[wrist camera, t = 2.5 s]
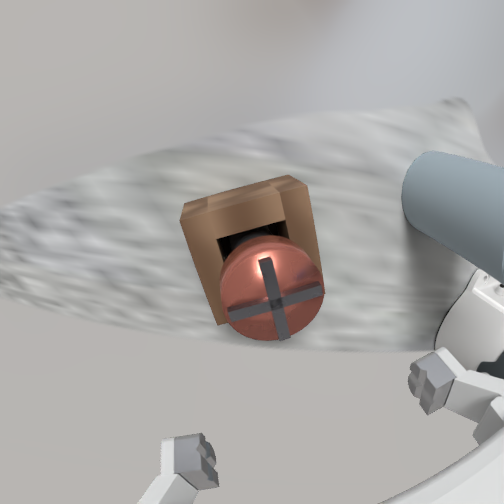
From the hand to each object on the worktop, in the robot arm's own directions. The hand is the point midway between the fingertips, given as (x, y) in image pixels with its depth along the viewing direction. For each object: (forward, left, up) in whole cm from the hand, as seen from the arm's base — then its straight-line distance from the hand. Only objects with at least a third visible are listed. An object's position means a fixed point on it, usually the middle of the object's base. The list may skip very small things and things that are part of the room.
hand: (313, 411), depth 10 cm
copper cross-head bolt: (0, 0, -19) cm, 19 cm away
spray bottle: (-20, +1, -19) cm, 28 cm away
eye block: (0, 0, -19) cm, 19 cm away
